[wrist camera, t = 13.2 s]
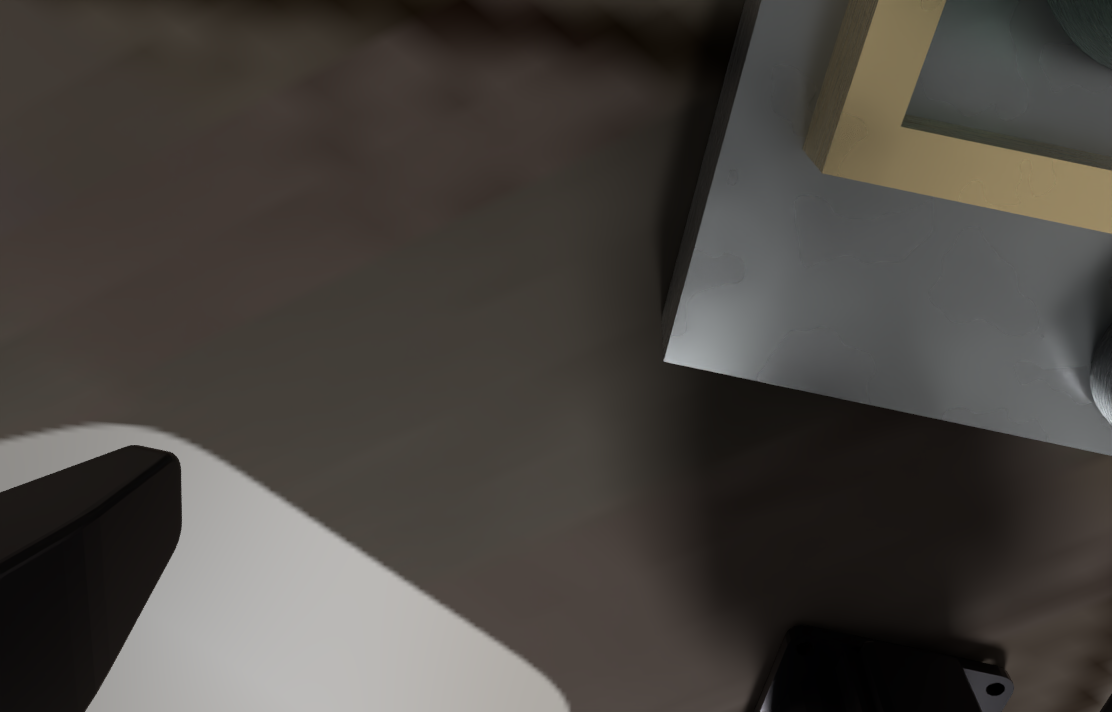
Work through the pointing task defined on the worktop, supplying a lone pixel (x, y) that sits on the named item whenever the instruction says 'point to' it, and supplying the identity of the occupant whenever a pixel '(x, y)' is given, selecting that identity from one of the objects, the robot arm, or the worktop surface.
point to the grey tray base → (908, 215)
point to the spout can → (1087, 26)
